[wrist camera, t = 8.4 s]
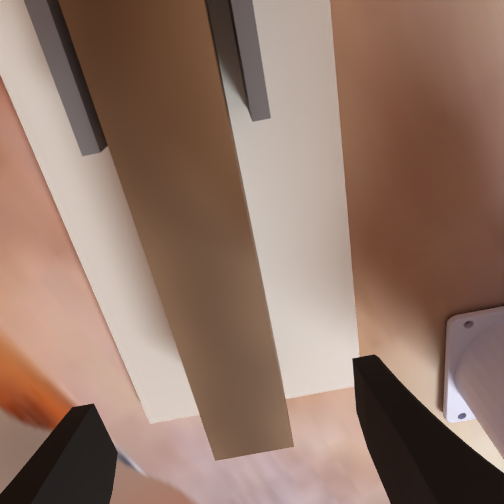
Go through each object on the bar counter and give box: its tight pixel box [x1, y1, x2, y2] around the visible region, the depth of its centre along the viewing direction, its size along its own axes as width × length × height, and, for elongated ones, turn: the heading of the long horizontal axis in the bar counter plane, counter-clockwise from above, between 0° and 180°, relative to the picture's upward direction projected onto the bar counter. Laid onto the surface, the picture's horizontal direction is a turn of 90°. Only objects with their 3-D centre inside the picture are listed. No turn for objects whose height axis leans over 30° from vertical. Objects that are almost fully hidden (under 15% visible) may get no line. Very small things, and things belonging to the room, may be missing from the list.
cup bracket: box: [0, 0, 359, 424], centre depth 17 cm, size 12×22×4 cm, turn 10°
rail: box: [58, 0, 294, 461], centre depth 16 cm, size 4×18×4 cm, turn 10°
